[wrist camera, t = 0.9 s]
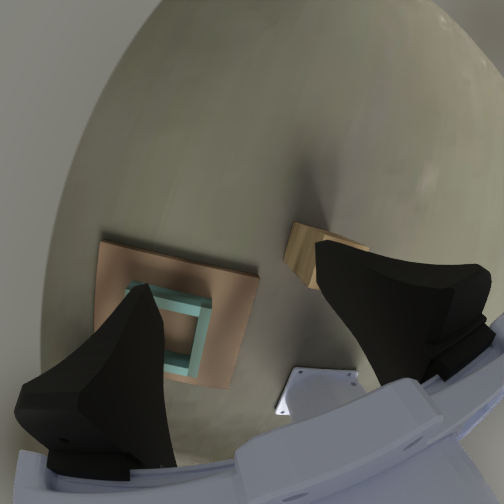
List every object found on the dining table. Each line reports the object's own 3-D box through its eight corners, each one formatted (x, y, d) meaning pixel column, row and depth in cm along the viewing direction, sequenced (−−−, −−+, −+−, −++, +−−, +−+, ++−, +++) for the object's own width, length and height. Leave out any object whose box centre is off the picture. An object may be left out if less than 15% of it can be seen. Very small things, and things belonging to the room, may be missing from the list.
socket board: (258, 275, 28) (264, 287, 24) (227, 384, 30) (229, 403, 27) (103, 239, 25) (89, 246, 21) (97, 354, 27) (87, 370, 24)
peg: (329, 231, 28) (369, 247, 20) (318, 268, 28) (353, 296, 21) (293, 221, 27) (324, 234, 19) (282, 260, 28) (308, 287, 20)
